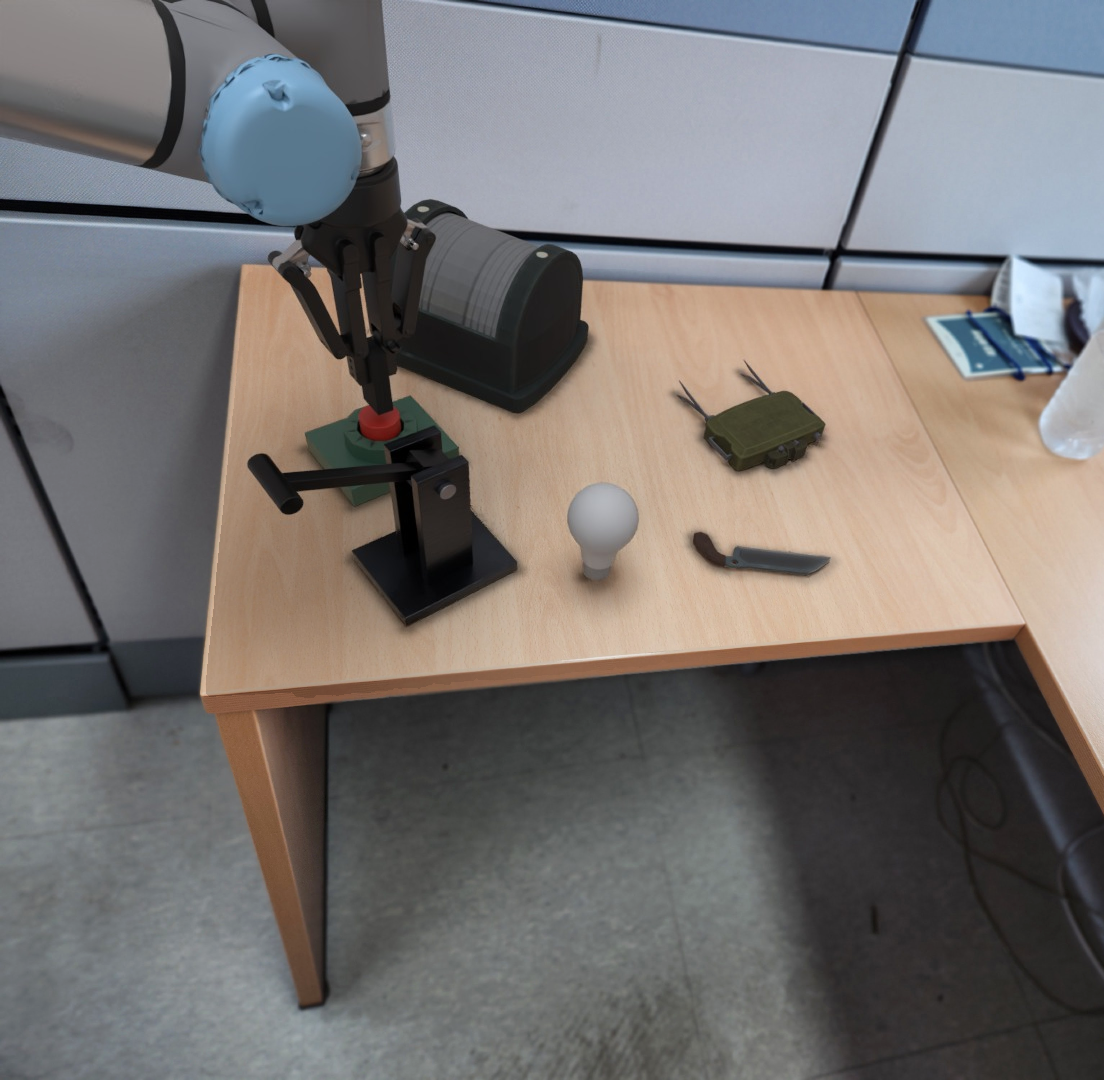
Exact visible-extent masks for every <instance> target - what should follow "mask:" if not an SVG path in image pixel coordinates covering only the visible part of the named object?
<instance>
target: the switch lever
mask: <svg viewBox="0 0 1104 1080" xmlns="http://www.w3.org/2000/svg"><path fill="white" fill-rule="evenodd" d="M447 460H450V459H449V458H448V457H447V456H446V455H445V454H444V452H443V451H442V450H441V449H440V448H436V449H422V450H409V453H408V456H407V459H406V462H405V463H393V464H381V465H369V466H357V467H345V468H333V469H324V468H323V469H310V470H309V469H308V470H300V471H287V472H282V471H281V470H280V468H279V467H278V466H277V464H276V463H275V462H274V460H273V459H272V457H271V456H270V455H269V454H267V453H263V452H259V453H256V454H253V455H252V456H250V458H249V459H248V460H247V463H246V465H247V469H248V470H249V471H250V473H251V474H252V475H253V477H254V478H255V479H256V481H257V482H258V483H259V485H260V486H261V487H262V489H263V490H264V492H265V493H266V494H267V495H268V497H269V498H270V499H271V501H272V502H273V504H274V505H275V506H276V507H277V509H278V510H279V511H280V513H282V514H283V515H285V516H286V515H287V516H292V515H294V514H297V513H299V512H300V511H301V510H302V508H303V507H304V504H305V503H304V499H303V497H302V496H301V495H300V493H301V492H307V491H308V492H309V491H318V490H328V489H338V488H339V487H349V486H358V485H368V484H378V483H388V482H397V481H407V482H408V483H409V484H410V485H411V486H412V482H411V475H413V474H416V473H418V472H420V471H423V470H425V469H428V468H430V467H433V466H435V465H438V464H440V463H442V462H445V461H447ZM339 489H340V488H339ZM299 492H300V493H299Z"/></svg>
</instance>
